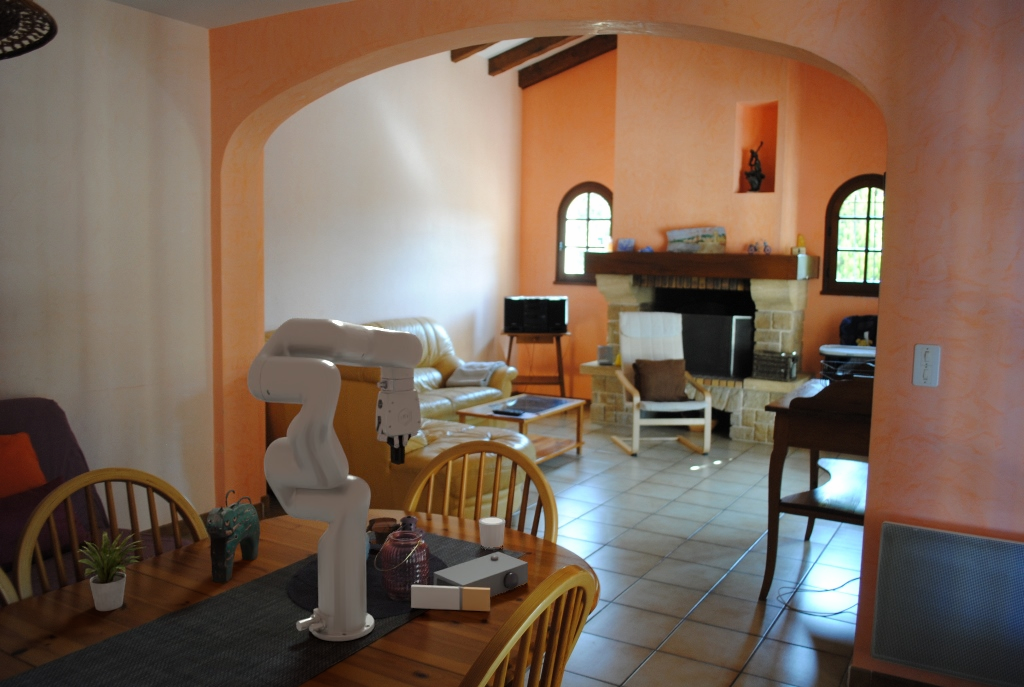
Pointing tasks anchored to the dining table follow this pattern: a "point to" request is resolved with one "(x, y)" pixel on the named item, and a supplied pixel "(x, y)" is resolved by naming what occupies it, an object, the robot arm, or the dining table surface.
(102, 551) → the house plant
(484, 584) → the box
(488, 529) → the white cup
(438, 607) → the side door
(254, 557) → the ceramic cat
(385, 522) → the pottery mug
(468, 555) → the dining table surface
